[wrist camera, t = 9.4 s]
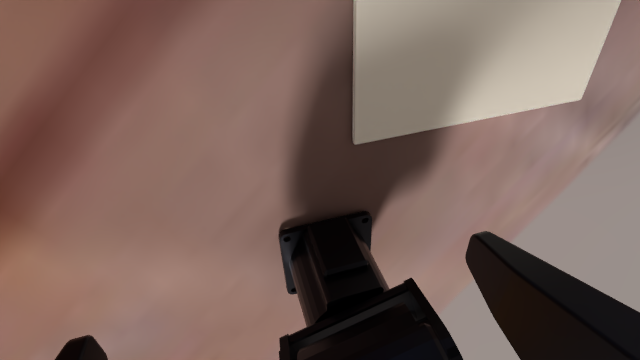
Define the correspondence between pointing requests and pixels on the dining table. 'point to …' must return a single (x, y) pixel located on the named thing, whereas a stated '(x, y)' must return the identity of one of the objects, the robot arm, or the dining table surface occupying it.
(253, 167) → the dining table surface
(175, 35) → the dining table surface
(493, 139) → the dining table surface
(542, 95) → the mat
